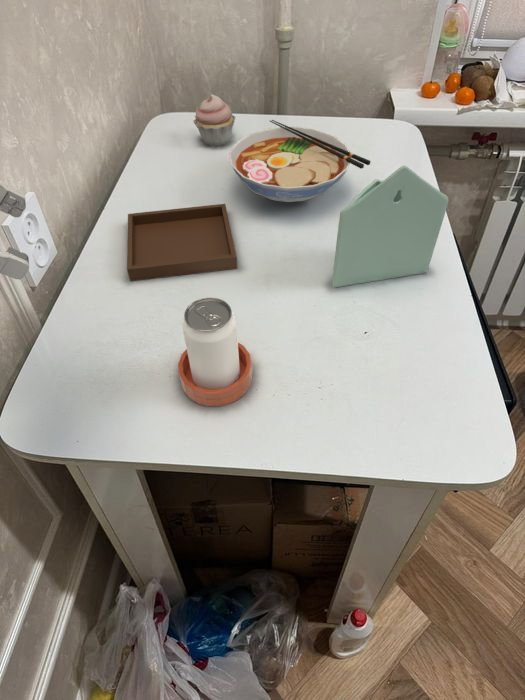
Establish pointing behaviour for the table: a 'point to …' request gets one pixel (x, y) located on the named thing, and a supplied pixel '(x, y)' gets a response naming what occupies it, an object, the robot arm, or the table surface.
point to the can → (211, 343)
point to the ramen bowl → (291, 162)
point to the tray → (179, 242)
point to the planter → (388, 230)
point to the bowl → (220, 395)
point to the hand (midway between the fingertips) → (24, 236)
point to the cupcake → (214, 121)
